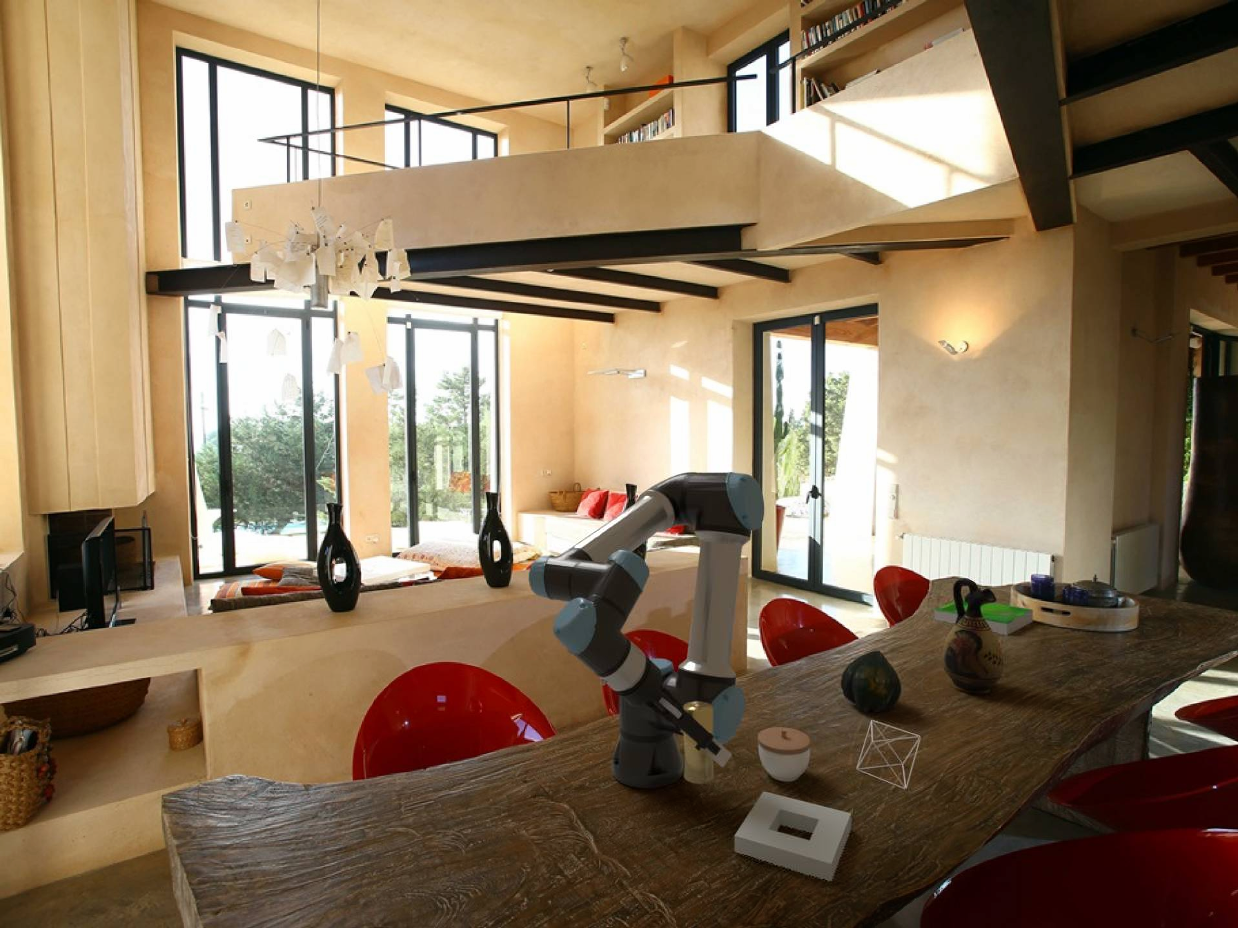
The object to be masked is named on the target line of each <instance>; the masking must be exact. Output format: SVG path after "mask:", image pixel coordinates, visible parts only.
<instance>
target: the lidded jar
mask: <svg viewBox="0 0 1238 928" xmlns="http://www.w3.org/2000/svg"><path fill="white" fill-rule="evenodd" d="M757 742H758V743H757V745H758V746H757V747H758V755H759V759H760V762H761V765H762V767H763V768H764V769H765V770H766V772H767V773H768V774H769V776H770V777H771V778H773V779H775V780H777V781H781V782H795V781H796V780H798V779H799V778H800V777H801V775H803V774H804V773H805V771H806V770H807V769H808V766H809V762H810V756H811V738H810V737H809V736H808V735H807V734H806V733H804V732H802V731H801V730H798V729H795V728H790V727H784V726H783V727H781V726H777V727H774V726H773V727H769V728H765V729H763V730H761V731H760V732H759V733H758V734H757Z"/></svg>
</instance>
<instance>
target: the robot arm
mask: <svg viewBox="0 0 1238 928" xmlns="http://www.w3.org/2000/svg"><path fill="white" fill-rule="evenodd" d="M764 518H765V499H764V495H763V491H762V489H761V486H760V485H759V482H758V481H757V480H756V478H754V476H752V475H750V474H748V473H742V472H741V473H739V472H733V471H730V472H729V471H728V472H695V471H690V472H682V473H678V474H676V475H673V476H671V477H667V478H666V479H664V480H661V481H659V482H658V483H655V484H654V485H652V486H650V487H648V489H646V490H645V491H643V492H641V493H640V495H639V496H637V499H636V502H635V503H634V504H632V505H631V506H629V507H628V508H627V509H625V510H624V511H622V512H620V513H619V514H618V515H616V516H615V517H614V518H612V519H610V520H609V521H607V523H605V524H604V525H602V526H600V527H599V528H598V529H596V530H595V531H593V532H592V533H591V534H589V535H588V536H586V537H584V539H583V538H582V540H580V541H579V542H577V543H576V544H574V545H573V546H572V547H570V548H568V549H567V550H565V551H563V553H561V554H559V555H557V556H555V555H553V554H550V555H542V556H538V557H537V558H535V560H534V561H533V563H532V564H531V566H530V568H529V571H528V583H529V586H530V590H531V591H532V592H533V593H534V594H535V595H536V596H539V597H542V598H547V599H549V600H550V601H562V602H567V603H566V604H565V605H564V606H563V608H562V610H561V609H560V610H559V612H558V613H557V615H556V617H555V618H554V621H553V626H552V632H553V635H554V636H555V638H556V639H557V640H558V641H559V643H560V644H561V645H562V646H563V647H564V648H565V649H566V650H567V651H568V652H569V653H570V654H572V655H573V656H574V657H576V658H577V659H578V660H579V661H581V663H583V664H584V665H585V666H586V667H587V668H589V670H591V671H592V672H593V673H594V674H595V675H596V676H598V678H599V679H600V681H599V683H600V685H601V686H606V685H608V687H610V688H611V689H612V690H613V691H615V693H616V694H617V696H618V718H619V719H618V720H619V721H618V723H619V736H618V738H617V739H618V740H617V742H616V746H615V750H614V752H613V755H612V759H611V769H612V771H611V773H612V775H613V777H614V778H615V779H616V780H617V781H618V782H620V783H622V784H623V785H626V786H629V787H632V788H637V789H657V788H664V787H666V786H670V785H672V784H674V783H676V782H677V781H679V780H680V779H681V778H682V776H683V775H684V758H683V756H682V754H681V750H680V748H679V745H678V742H677V739H676V736H675V735H679V736H681V737H684V732H685V733H686V734H687V735H688V736H689V737H691V738H692V739H693V740H694V741H695V742H696V743H697V745H696V747H695V748H696V749H697V750H698V751H699V750H700V749H702V750H703V751H704V752H706V753H707V754H708V755H709V756H710V757H711V758H712V759H713V762H716V763H717V765H719V766H720V767H721V768H722V769H723V768H724V767H725V766H726V764H727V762H728V761H729V760H730V758H732V756H733V753H731V751H729V750H728V749H727V748H726V747H725V746H724V745H725V744H727V743H729V741H730V740H731V739H733V737H734V736H735V735H736V733H737V731H738V729H739V728H740V725H741V723H742V720H743V716H744V712H745V706H746V699H745V693H744V690H743V689H742V688H741V687H740V686H738V685H736V683H737V682H736V680H737V674H736V673H735V671H734V670H733V669H732V667H731V665H730V663H731V656H732V647H733V646H732V645H733V637H734V625H735V618H736V609H737V608H736V607H737V599H738V598H737V597H738V589H739V588H738V587H739V581H740V579H739V578H740V571H741V570H740V569H741V561H742V560H741V559H742V553H743V547H744V546H745V545H746V544H747V543H749V542H750V541H751V537H752V536H751V535H752V531H755V530H758V529H760V528H761V526H762V524H763V521H764ZM678 526H694V527H695V528H694V534H695V536H696V537H697V538H698V539H699V541H700V545H699V552H698V553H699V555H698V562H697V572H696V581H695V589H694V597H693V603H692V604H693V605H692V613H691V614H692V615H691V622H690V623H691V624H690V631H689V638H688V640H689V641H688V647H687V656H686V657H687V658H686V659H685V660H684V661H683V662H681V663H680V664H679V665H678V670H677V672H676V671H674V670H675V667H674V665H673V662H672V661H670V660H668V659H666V658H649V657H647V656H646V654H645V653H644V652H643V651H642V650H641V649H640V648H639V647H638V646H637V645H636V644H634V643H633V642H632V641H631V640H630V639H629V638H628V637H627V636H626V635H624V633H623V632H622V629H623V628H624V625H625V624H626V622H627V620H628V618H629V617H630V615H631V613H632V612H633V610H634V608H635V606H636V604H637V602H638V600H639V599H640V597H641V595H642V594H643V592H644V588H645V585H646V584H647V582H648V579H649V577H650V567H649V565H647V563H646V561H645V560H644V559H643V558H642V557H641V556H639V555H638V554H636V553H635V552H634V551H635V549H637V548H639V547H640V546H641V545H642V544H644V543H645V542H646V541H647V540H649V539H650V538H652V537H653V536H654V535H655V534H657V533H663V532H666V531H669V530H670V529H671V528H672V527H678ZM694 701H699V702H705V703H708V704H710V705H712V706H713V735H712V734H711V733H709V732H708V731H707V730H706V729H705V728H704V727H703V726H701V725H700V724H699V723H698V722H697V721H696V720H695V719H694V718H693V717H692V716H691V715H690V714H689V713H687V712H686V711H685V710H684V705H685V704H686V703H689V702H694Z"/></svg>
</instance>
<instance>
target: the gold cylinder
mask: <svg viewBox="0 0 1238 928" xmlns="http://www.w3.org/2000/svg"><path fill="white" fill-rule="evenodd" d="M684 710H685V711H686V712H687V713H689V714H690V715H691V716H692V717H693V718H694V719H695V720H696V721H697V722H698V723H699V724H700V725H701V726H703V727H704V728H705V729H706V730H707V731H708V732H709V733H711V734H712V735H713V706H712V705H710V704H708V703H705V702H699V701H694V702H689V703H686V704H685V705H684ZM696 745H697V743H696V742H695V741H694V740H693V739H692V738H691V737H689V736H688V735H687V734H686V733H685V732H684V736H683V778H684V779H685V780H686V781H687V782H689V783H691V784H695V785H696V784H698V785H700V784H701V785H702V784H707V783H710V782H711V781H713V779H714V760H713V759H712V758H711V757H710V756H709V755H708V754H707V753H706V752H704V751H703V750H702V749H700V750H699V751H698V750H697V749H696V748H695V747H696Z"/></svg>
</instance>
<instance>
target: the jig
mask: <svg viewBox="0 0 1238 928" xmlns="http://www.w3.org/2000/svg"><path fill="white" fill-rule="evenodd" d="M781 825H783V826H782V827H785V826H788V827H790V829H792V828H796V829H798V830H797V831H799V830H804V831H806V832H805V833H807V832H811V833H813V834H811V836H810V839H806V838H802V837H798V836H795V835H791V834H788V833H784V832H780V831H778V830H779V829H780V827H781ZM779 826H780V827H779ZM788 827H787V828H788ZM778 828H779V829H778ZM796 829H795V830H796ZM850 830H852V813H850V812H847V811H843V810H840V809H835V808H832V807H828V806H827V807H826V806H823V805H820V804H815V803H811V802H807V801H803V800H799V799H796V798H791V797H787V796H783V795H779V794H775V793H773V792H767V791H763V792H762V793H761V794H760V795H759V798H758V799H757V800H756V801H755V804H754V805H753V807H752V808H751V810H750V811H749V813H748V814H747V816H746V818H745V819H744V820H743V822H742V823H741V825H740V826H739V828H738V829H737V831H736V833H735V834H734V853H735V852H737V853H740V854H744V855H748V856H751V857H754V858H757V859H759V860H758V861H760V859H761V860H762V861H761V862H763V861H767V862H769V863H768V864H770V863H773V864H774V866H776V865H778V866H777V867H780V866H783V867H785V868H784V869H786V868H789V869H791V870H790V871H793V870H794V871H793V872H796V871H797V873H799V872H800V873H799V874H802V873H803V875H806V876H809V875H811V876H810V877H812V876H814V877H813V878H815V877H818V878H817V879H819V878H820V880H822V879H825V880H828V881H827V882H829V881H832V882H833V880H832V879H834V877H835V874H836V871H837V869H836V868H838V866H839V863H840V861H839V859H840V860H841V858H840V857H842V855H843V853H842V852H844V850H843V849H845V847H846V845H845V844H847V842H846V841H848V839H849V836H850V834H851V831H850ZM849 833H850V834H849ZM847 838H848V839H847ZM844 846H845V847H844ZM737 853H736V854H737ZM740 854H739V855H740ZM841 854H842V855H841ZM744 855H743V856H744ZM757 859H756V860H757ZM838 862H839V863H838ZM773 864H772V865H773ZM837 865H838V866H837ZM783 867H782V868H783ZM789 869H788V870H789ZM835 870H836V871H835ZM834 873H835V874H834ZM833 876H834V877H833ZM825 880H824V881H825Z"/></svg>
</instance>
